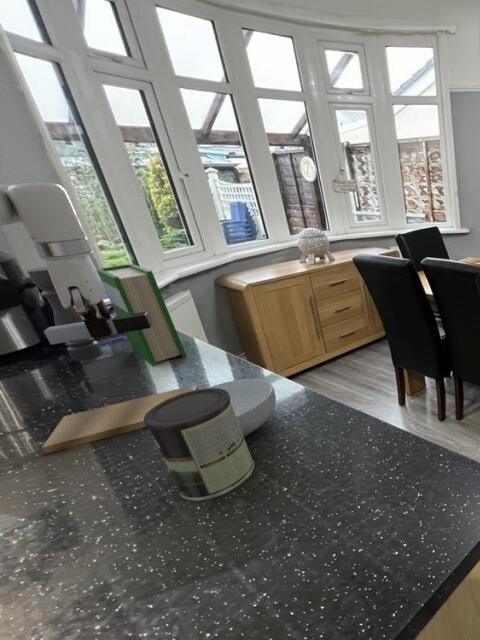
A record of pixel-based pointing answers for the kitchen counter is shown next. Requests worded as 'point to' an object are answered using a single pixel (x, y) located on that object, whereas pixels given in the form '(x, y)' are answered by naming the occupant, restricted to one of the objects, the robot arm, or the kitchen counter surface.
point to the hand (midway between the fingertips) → (104, 333)
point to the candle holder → (65, 316)
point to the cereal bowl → (250, 401)
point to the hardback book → (140, 296)
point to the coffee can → (201, 443)
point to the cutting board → (105, 421)
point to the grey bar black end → (115, 324)
